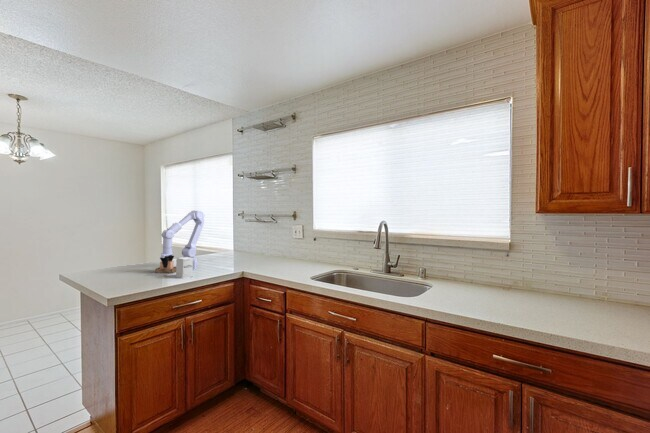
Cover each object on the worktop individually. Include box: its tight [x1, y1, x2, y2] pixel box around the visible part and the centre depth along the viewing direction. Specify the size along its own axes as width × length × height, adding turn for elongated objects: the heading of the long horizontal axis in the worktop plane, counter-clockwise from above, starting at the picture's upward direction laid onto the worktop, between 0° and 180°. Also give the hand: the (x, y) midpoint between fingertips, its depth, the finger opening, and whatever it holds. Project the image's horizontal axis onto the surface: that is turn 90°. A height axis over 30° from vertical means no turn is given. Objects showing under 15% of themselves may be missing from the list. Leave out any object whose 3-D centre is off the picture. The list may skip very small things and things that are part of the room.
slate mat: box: [143, 270, 169, 277], centre depth 207 cm, size 13×17×1 cm
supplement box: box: [175, 256, 194, 279], centre depth 199 cm, size 7×7×13 cm
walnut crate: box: [154, 266, 176, 275], centre depth 211 cm, size 11×9×3 cm
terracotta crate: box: [159, 260, 175, 269], centre depth 211 cm, size 7×5×5 cm
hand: (167, 266), depth 211 cm, fingers closed on terracotta crate, 5 cm apart
